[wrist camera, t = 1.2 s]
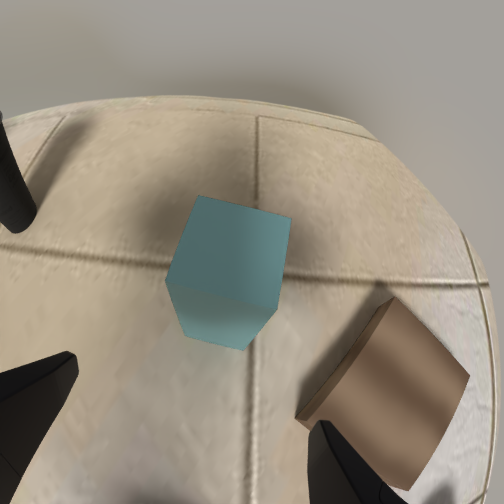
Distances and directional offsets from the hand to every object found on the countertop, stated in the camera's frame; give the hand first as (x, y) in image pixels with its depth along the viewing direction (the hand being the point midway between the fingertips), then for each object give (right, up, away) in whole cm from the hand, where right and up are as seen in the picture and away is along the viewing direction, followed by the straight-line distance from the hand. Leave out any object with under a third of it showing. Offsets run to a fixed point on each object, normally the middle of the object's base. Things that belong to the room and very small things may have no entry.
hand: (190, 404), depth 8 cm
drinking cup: (-26, +9, +16) cm, 32 cm away
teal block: (-1, 0, +15) cm, 15 cm away
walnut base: (+15, -9, +13) cm, 22 cm away
